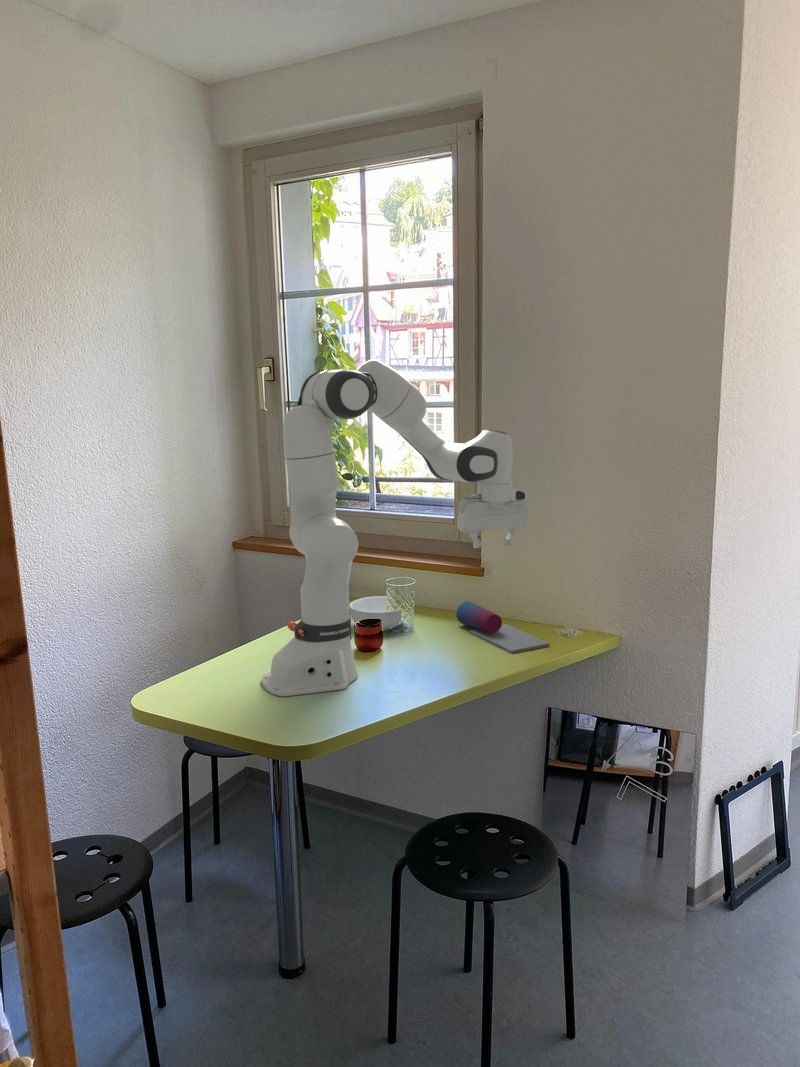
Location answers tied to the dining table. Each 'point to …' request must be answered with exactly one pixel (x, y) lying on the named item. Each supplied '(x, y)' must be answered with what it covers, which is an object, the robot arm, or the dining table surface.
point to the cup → (478, 617)
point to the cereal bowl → (374, 611)
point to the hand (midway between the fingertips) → (492, 546)
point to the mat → (510, 639)
